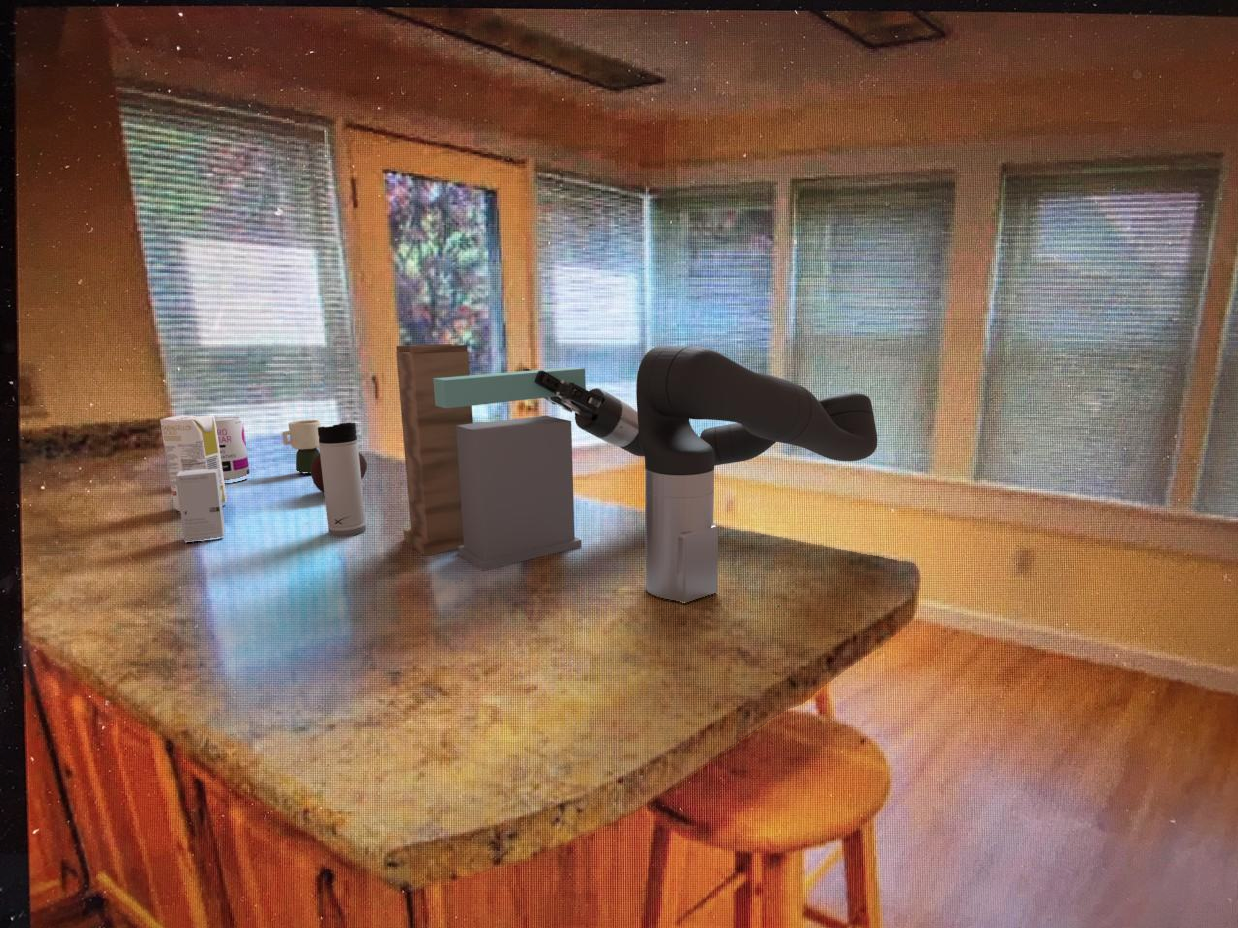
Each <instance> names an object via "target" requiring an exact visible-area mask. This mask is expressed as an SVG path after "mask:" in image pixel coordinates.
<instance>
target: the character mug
mask: <svg viewBox="0 0 1238 928" xmlns="http://www.w3.org/2000/svg"><path fill="white" fill-rule="evenodd" d="M318 427H322V426H321V421H320V420H319V419H318V420H315V419H305V420H304V419H303V420H296V421H295V420H294V421H291V422H288V429H289V430H287V431H283V432H282V434H281V435H282V442H283V445H285V446H288V445H291V448H292V449H295V450H297V451H296V456H295V460H296V461H295V471H296V470H297V471H299V472H311V466H312V463H313V460H314V459H315V458H316V456H317V455H318V454H319V453H320V450H318V449H319V446H320V445H319V436H318ZM288 436H289V439H290V440H288ZM299 472H298V473H299Z"/></svg>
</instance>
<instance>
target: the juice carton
mask: <svg viewBox="0 0 1238 928" xmlns="http://www.w3.org/2000/svg"><path fill="white" fill-rule="evenodd" d="M215 418H216V417H215V415H214V414H209V415H198V416H197V415H192V414H191V415H190V414H180V415H174V416H169V417H164V418H160V420H159V421H160V426H161V427H160V428H161V435H162V441H163V442H162V443H163V448H164V453H165V454H164V455H165V459H166V467H167V472H168V478H169V484H170V490H171V496H172V497H171V498H172V502H173V507H174V510H175V509H180V505H179V498H178V490H177V483H176V475H177V474H178V472H179V471H187V470H198V469H214V468H217V469H218V475H219V483H220V492H221V500H222V503H223V502H227V492H226V491H227V490H226V484H225V483H224V476H223V469H222V462H221V455H220V448H219V441H218V434H217V428H216V423H215Z"/></svg>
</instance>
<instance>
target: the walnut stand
mask: <svg viewBox="0 0 1238 928" xmlns="http://www.w3.org/2000/svg"><path fill="white" fill-rule="evenodd" d="M395 347H396V352H395V354H396V365H397V367H396V368H397V375H398V376H397V378H398V389H399V401H400V414H401V425H402V436H403V448H404V462H405V463H404V464H405V471H406V472H405V473H406V482H407V483H406V485H407V497H408V508H409V509H408V510H409V519H410V520H409V521H410V522H409V523H410V527H406V528H403V540H404V542H406V543H407V544H409V545H410V546H411V547H413V548H414V549H415V550H416V551H417V552H418V553H420V554H421V555H423V556H425V557H426V556H431V555H435V554H441V553H445V552H449V551H453V550H458V547H457V546H462V545H464V538H463V523H462V508H461V493H460V478H459V463H458V448H457V432H456V425H464V424H473V423H474V420H473V419H474V418H473V406H464V407H454V408H443V407H439V406H435V394H434V382H433V378H445V377H457V376H469V375H471V370H470V357H469V355H470V353H469V351H468V349H469V348H468V344H452V343H444V344H443V343H442V344H418V345H417V344H416V345H415V344H414V345H396V346H395Z"/></svg>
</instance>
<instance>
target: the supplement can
mask: <svg viewBox="0 0 1238 928" xmlns="http://www.w3.org/2000/svg"><path fill="white" fill-rule="evenodd" d="M214 418H215V423H216V428H217V434H218V441H219V448H220V455H221V462H222V469H223V476H224V480H230V479H236V478H240V477H243V476H246V475H247V474H249V473H250V474H251V472H250V465H249V457H248V451H247V443H246V436H245V427H244V423H243V421H242V420H241V419H240V417H239V416H220V417H214Z"/></svg>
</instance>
